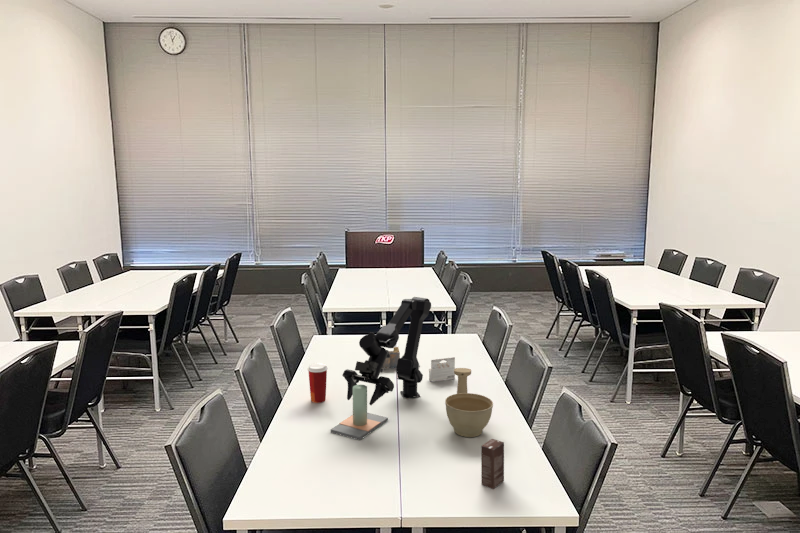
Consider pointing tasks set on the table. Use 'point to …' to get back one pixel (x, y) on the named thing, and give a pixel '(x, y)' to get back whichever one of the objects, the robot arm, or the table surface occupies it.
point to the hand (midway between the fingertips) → (359, 402)
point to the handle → (462, 379)
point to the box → (492, 463)
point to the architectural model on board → (392, 359)
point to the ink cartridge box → (442, 369)
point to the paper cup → (317, 382)
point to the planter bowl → (468, 413)
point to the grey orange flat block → (359, 431)
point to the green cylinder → (359, 405)
